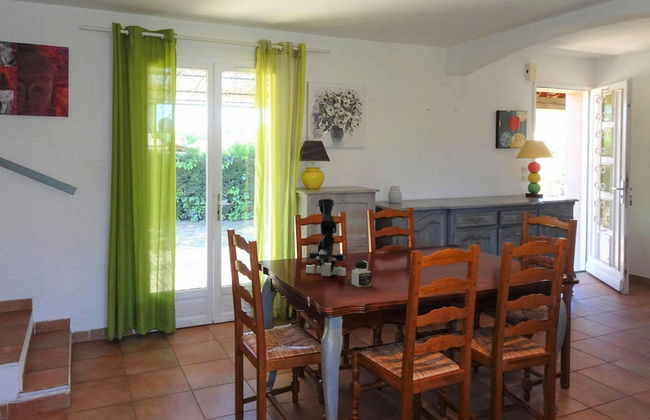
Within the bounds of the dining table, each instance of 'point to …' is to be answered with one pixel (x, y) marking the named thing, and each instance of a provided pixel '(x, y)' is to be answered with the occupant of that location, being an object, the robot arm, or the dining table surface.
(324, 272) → the grey cube block
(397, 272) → the dining table surface
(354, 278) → the medicine bottle
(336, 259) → the robot arm
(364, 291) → the dining table surface
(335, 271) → the pale green curved bar
